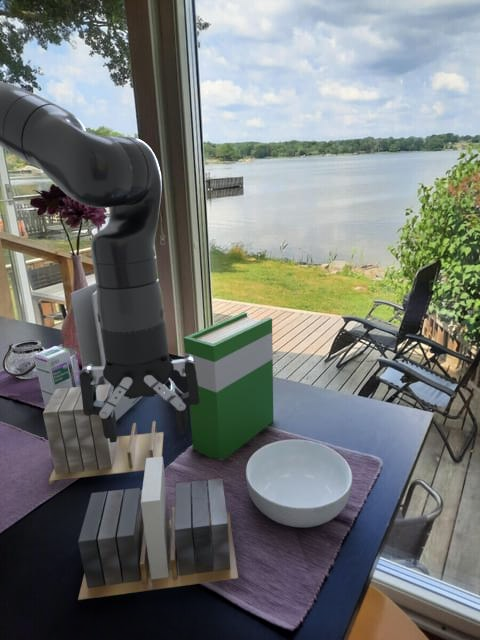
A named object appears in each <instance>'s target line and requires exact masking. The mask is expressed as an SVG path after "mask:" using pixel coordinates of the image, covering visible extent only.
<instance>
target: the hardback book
mask: <svg viewBox="0 0 480 640" xmlns="http://www.w3.org/2000/svg"><path fill="white" fill-rule="evenodd" d="M183 347H184V357H185V356H186V355H189V354H190V355H193V357H194V361H195V367H196V374H197V381H198V388H199V397H200V402H199V404H197V405H193V404H192V405H190V406H189V416H190V429H191V440H192V441H191V442H192V449H193V450H195V451H197V452H199V453H201V454H203V455H205V456H207V457H209V458H211V459H213V460H223V459H227V458H229V457H230V456H231V455H232V454H233V453H235V452H236V451H237V450H238V449H240V448H241V447H243V446H244V445H245V444H247V443H248V442H249V441H250V440H251V439H253V438H254V437H256V435H259V433H260V432H262V431H263V430H265V428H267V427H268V426H269V425H270V424H272V423H273V422H274V370H273V369H274V360H273V359H274V356H273V355H274V351H273V318H272V317H267V318H264V319H263V320H261V319H257V318H253V317H248V313H247V312H244V311H243V312H241V313H238V314H236V315H233V316H231V317H229V318H227V319H224V320H222V321H220V322H217V323H215V324H212V325H210V326H208V327H206V328H203V329H201V330H198V331H196V332H194V333H191V334H189V335H187V336H184V337H183ZM187 392H189V391H188V390H187Z"/></svg>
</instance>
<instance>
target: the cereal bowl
mask: <svg viewBox="0 0 480 640" xmlns="http://www.w3.org/2000/svg"><path fill="white" fill-rule="evenodd" d="M245 480H246V488H247V491H248V495H249V497H250V499H251V501H252V502H253V504H254V505H255V506H256V508H257V510H259V511H260V512H261V513H262V514H263V515H264V516H265V517H267V518H269V519H270V520H272V521H274V522H276V523H278V524H280V525H283V526H286V527H287V526H289V527H293V528H313V527H316V526H320V525H323V524H326V523H328V522H330V521H331V520H333V519H334V518H336V517H337V516H338V515H339V514H341V513H342V511H343V509H345V508H346V505H347V504H348V501H349V499H350V497H351V493H352V487H353V473H352V469H351V467H350V465H349V463H348V462H347V461H346V459H345V457H343V456H342V455H341V454H339V452H337V451H336V450H334V449H332V448H331V447H329V446H327V445H324V444H322V443H319V442H316V441H311V440H306V439H305V440H304V439H282V440H277V441H274V442H271V443H267V444H266V445H264V446H261V447H260V448H258V449H257V450H256V451H255V452H253V454H252V455H251V456H250V458H249V459H248V461H247V463H246V467H245Z"/></svg>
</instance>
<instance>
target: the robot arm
mask: <svg viewBox="0 0 480 640" xmlns="http://www.w3.org/2000/svg"><path fill="white" fill-rule="evenodd" d="M0 147H1V148H2V149H4V150H5V151H7V152H9V153H11V154H12V155H14V156H16V157H18V158H19V159H21V160H23V161H25V162H26V163H29V164H30V165H32V166H34V167H36V168H38V169H39V170H41V171H42V172H43V173H44V174H45V175H46V176H47V178H48V179H50V180H51V181H52V183H54V185H56V186H57V187H58V188H59V189H60V190H61V191H62V192H63V193H64V194H65V195H66V196H67V197H69V198H70V199H71V200H74V201H75V202H78V203H79V204H82V205H84V206H87V207H90V208H96V209H107V208H110V209H109V218H108V222H107V224H106V226H105V227H104V228H102V229H100V230H99V231H97V232H96V233H95V234H94V235H93V236H92V238H91V240H90V253H91V259H92V266H93V273H94V280H95V283H96V288H97V309H98V314H97V315H98V321H99V323H100V328H101V335H102V341H103V348H104V354H105V361H106V364H105V366H99V367H93V365H92V364H89V363H88V364H85V365H84V367H83V368H82V369H81V371H80V373H79V382H80V384H79V385H80V387H81V394H82V403H83V412H84V414H85V415H87V416H90V415H92V414H94V415H98V416H99V417H100V418H101V420H102V426H103V431H104V436H105V438H106V439H109V438H110V443H112V442H116V441H117V437H119V430H118V424H117V421H116V416H115V410H114V408H115V406H117V404H118V403H119V401H120V400H121V399H122V397H123V396H126V397H129V399H134V398H138V397H141V396H143V397H144V398H153V397H155V395H157V394H158V395H159V396H160V397H161V398H162V399H163V400H164V401H165V402H169V404H171V405H172V406H173V407H174V408H175V411H174V413H175V421H176V433H177V436H183V435H184V431H187V430H188V428H189V419H188V408H189V407H190V405H192V404H193V405H197V404H199V402H200V397H199V388H198V381H197V374H196V367H195V361H194V357H193V355H190V354H189V355H186V356H185V355H184V358H180V359H172V358H171V356H170V354H169V345H168V336H167V335H168V334H167V325H166V315H165V306H164V297H163V292H162V288H161V284H160V279H159V270H158V269H159V268H158V260H157V259H158V258H157V251H156V236H157V230H158V226H159V225H158V224H159V216H160V207H161V201H162V199H161V198H162V191H163V190H162V189H163V188H162V186H163V185H162V173H161V169H160V165H159V161H158V159H157V157H156V155H155V153H154V152H153V150H152V148H151V147H150V146H149V145H148V144H147V143H146V142H145V141H143V140H141V139H139V138H136V137H133V136H118V135H117V136H116V135H103V134H101V135H99V134H95V133H92V132H90V131H87V130H86V128H85V126H84V123H82V122H81V120H80V119H79V118H78V117H77V116H75V114H73V113H71V112H70V111H68V110H67V109H65V108H63V107H61V106H59V105H58V104H55V103H54V102H52V101H50V100H48V99H46V98H44V97H41V96H40V95H38V94H36V93H34V92H31V91H29V90H27V89H24V88H22V87H20V86H17V85H14V84H11V83H7V82H5V81H1V80H0ZM174 371H177V372H178V373H179V375H180V377H182V378H186V384H187V392H183V391H182V390H181V389H179V388H178V386H177V385H176V384H175V382H174V381H173V380H172V379H171V378H170V377H171V375H172V374H173V372H174ZM102 376H104V378H105V379H106V380H107V381H108V382H109V383H110V384H111V385H112V386H113V387H112V389H111V391H110V393H109V394H108V396H107V397H106V399H105V400H104V402H102V401H97V396H96V384H98V382H99V380H100V377H102ZM188 391H189V392H188ZM143 397H142V398H143Z"/></svg>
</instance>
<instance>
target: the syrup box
mask: <svg viewBox="0 0 480 640" xmlns="http://www.w3.org/2000/svg"><path fill="white" fill-rule="evenodd" d="M33 360H34V364H35V369H36V373H37V378H38V382H39V387H40V390H41V391H40V392H41V396H42V400H43V404H44V409H45V408H46V406H47V405H48V403H49V401H50V399H51V398H52V396H53V394H54V392H55V391H56V389H60V388H69V389H70V388H72V387H77V385H76V380H75V374H74V369H73V364H72V358H71V354H70V350H69V349H67V348H65V347H61V346H57V345H54V346H52V347H50V348H47V349H45V350H41V351H39V352H36V353H34V354H33Z"/></svg>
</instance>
